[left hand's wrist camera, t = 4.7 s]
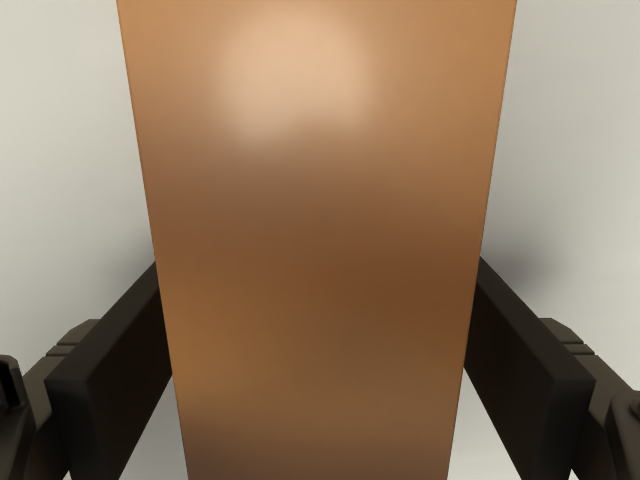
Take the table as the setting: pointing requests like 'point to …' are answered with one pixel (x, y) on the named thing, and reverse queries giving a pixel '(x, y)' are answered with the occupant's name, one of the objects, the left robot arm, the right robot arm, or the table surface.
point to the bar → (317, 222)
